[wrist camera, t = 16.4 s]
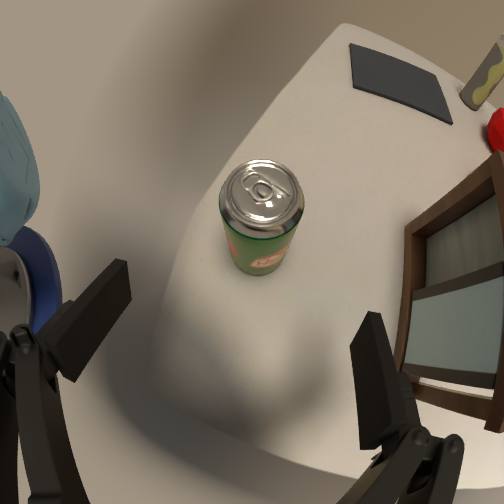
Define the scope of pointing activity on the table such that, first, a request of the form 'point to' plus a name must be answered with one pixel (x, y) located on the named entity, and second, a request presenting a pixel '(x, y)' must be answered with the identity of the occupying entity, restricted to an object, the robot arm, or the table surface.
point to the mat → (398, 82)
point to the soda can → (260, 214)
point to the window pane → (458, 329)
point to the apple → (496, 130)
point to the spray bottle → (485, 77)
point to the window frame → (456, 272)
